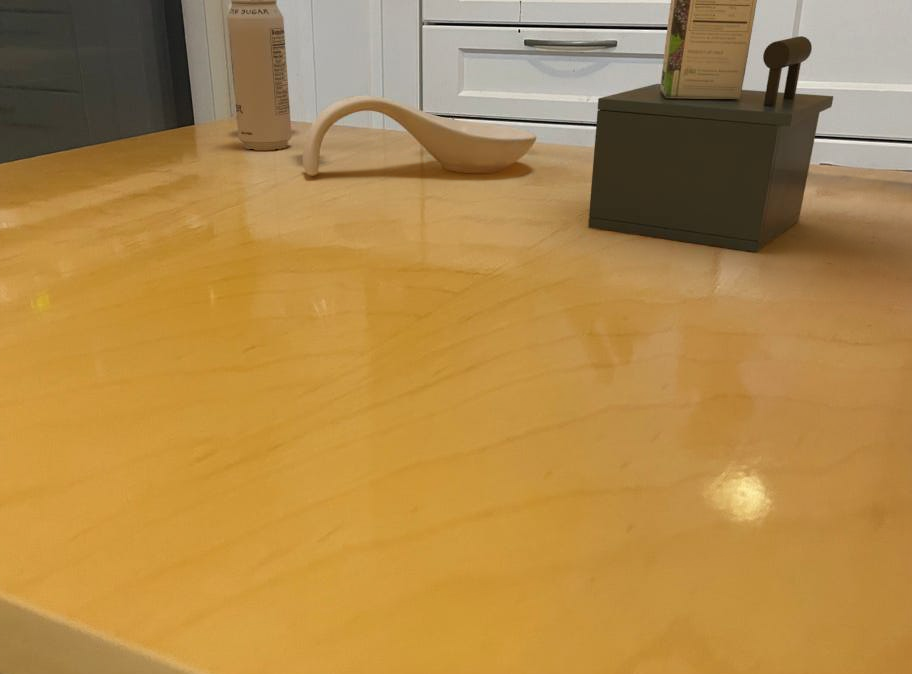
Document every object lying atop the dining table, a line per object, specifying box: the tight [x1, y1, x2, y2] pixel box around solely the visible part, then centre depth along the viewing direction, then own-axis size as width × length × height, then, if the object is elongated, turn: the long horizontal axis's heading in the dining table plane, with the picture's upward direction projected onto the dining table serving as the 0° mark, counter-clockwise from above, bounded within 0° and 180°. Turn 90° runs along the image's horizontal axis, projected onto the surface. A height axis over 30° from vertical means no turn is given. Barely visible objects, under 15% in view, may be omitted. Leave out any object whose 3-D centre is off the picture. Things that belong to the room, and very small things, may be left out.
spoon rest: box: [302, 94, 537, 176], centre depth 94 cm, size 24×12×7 cm, turn 104°
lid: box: [597, 35, 834, 126], centre depth 71 cm, size 14×12×5 cm
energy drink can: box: [226, 0, 292, 151], centre depth 105 cm, size 6×6×15 cm
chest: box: [587, 109, 821, 253], centre depth 74 cm, size 14×12×9 cm
